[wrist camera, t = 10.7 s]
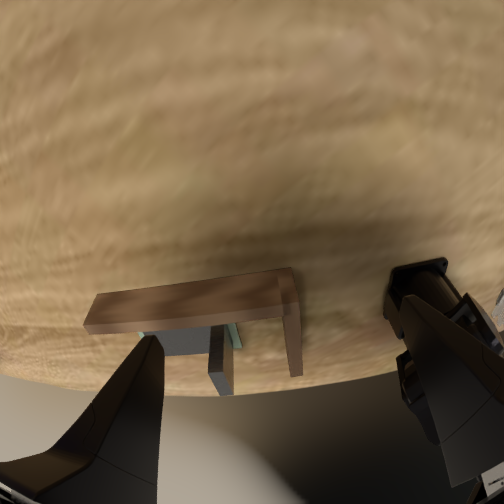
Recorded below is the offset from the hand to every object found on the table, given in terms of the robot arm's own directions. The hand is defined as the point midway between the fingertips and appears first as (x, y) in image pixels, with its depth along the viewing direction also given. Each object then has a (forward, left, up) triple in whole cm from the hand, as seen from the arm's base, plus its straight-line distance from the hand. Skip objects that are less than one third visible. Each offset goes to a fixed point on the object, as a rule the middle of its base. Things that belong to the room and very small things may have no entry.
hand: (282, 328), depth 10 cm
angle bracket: (+9, +13, -12) cm, 20 cm away
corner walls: (+7, +12, -12) cm, 18 cm away
